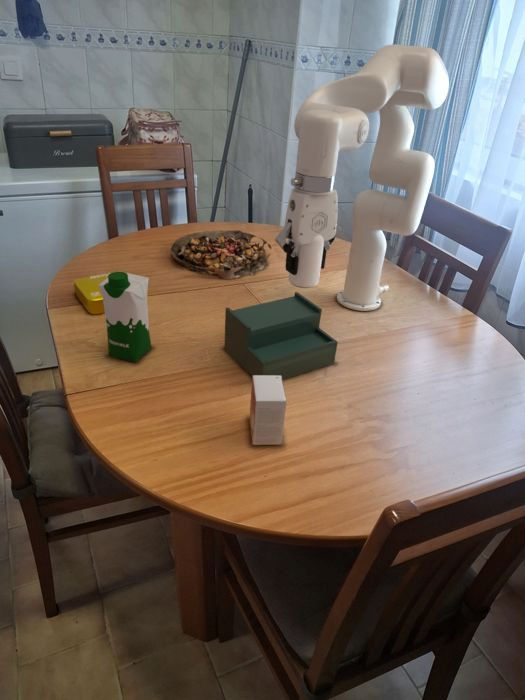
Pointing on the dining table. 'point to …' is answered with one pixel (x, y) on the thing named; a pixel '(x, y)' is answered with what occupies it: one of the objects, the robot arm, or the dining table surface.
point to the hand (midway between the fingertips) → (305, 268)
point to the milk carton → (126, 315)
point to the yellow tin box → (91, 292)
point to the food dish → (220, 253)
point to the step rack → (279, 337)
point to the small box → (267, 409)
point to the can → (308, 264)
